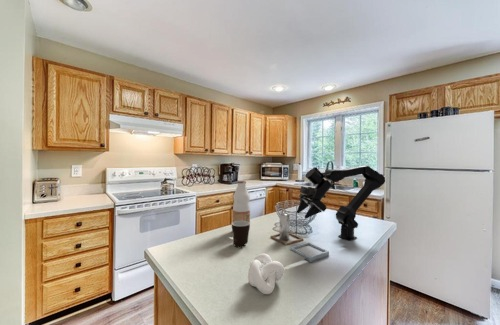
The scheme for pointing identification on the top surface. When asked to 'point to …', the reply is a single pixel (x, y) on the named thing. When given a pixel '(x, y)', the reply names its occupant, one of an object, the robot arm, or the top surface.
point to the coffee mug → (240, 233)
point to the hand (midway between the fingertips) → (301, 215)
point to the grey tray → (312, 258)
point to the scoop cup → (284, 227)
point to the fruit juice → (241, 203)
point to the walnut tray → (291, 240)
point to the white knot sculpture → (264, 273)
